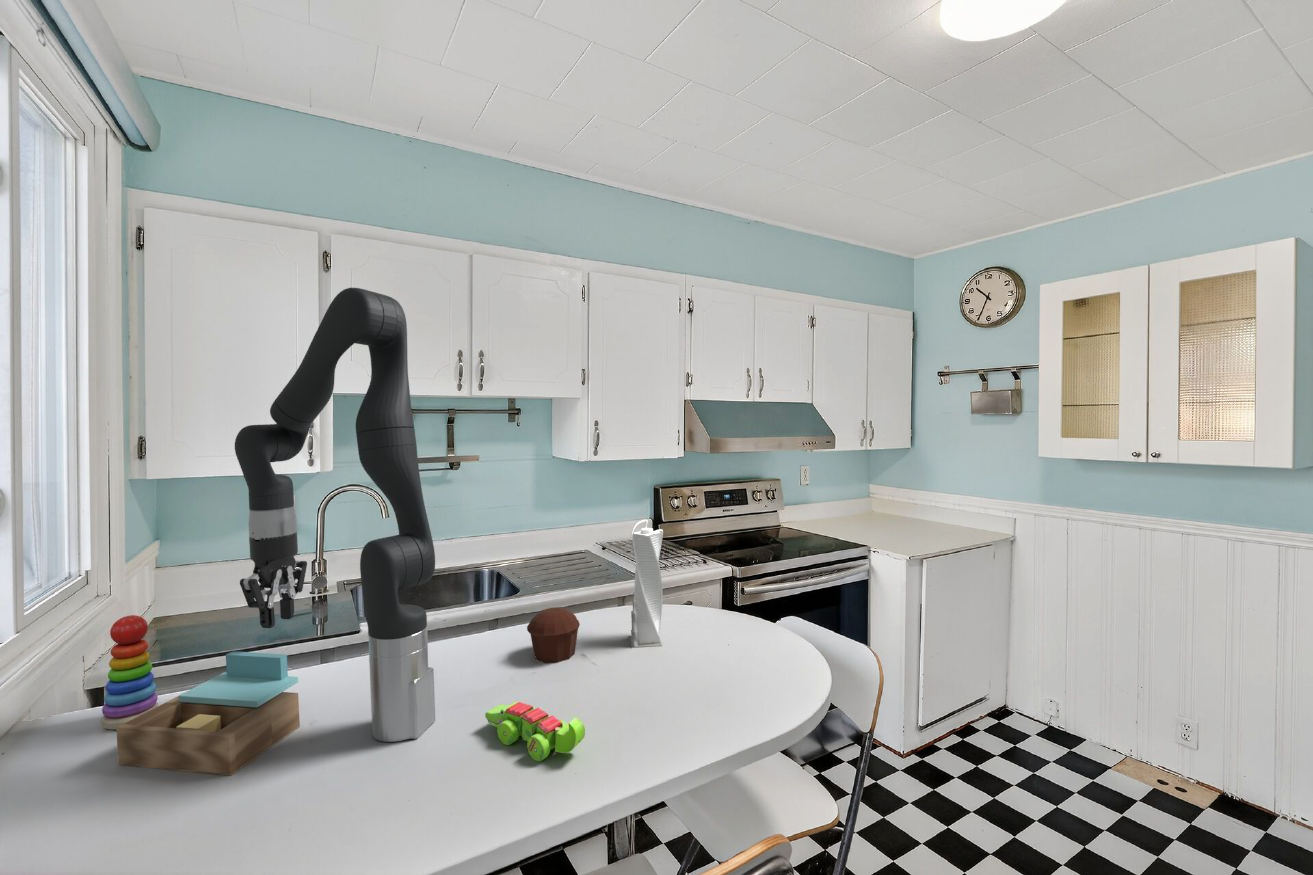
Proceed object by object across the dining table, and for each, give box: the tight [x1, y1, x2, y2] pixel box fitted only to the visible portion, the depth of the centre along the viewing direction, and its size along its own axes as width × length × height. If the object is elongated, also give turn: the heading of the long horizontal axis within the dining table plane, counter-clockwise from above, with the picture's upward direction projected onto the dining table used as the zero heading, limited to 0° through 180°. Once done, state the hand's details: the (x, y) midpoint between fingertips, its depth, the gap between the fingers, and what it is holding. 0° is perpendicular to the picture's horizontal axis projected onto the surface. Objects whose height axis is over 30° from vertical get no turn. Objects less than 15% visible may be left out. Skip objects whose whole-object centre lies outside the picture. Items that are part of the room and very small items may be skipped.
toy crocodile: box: [484, 701, 586, 762], centre depth 99 cm, size 20×7×6 cm, turn 53°
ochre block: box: [176, 714, 221, 732], centre depth 97 cm, size 4×4×5 cm
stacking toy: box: [100, 614, 160, 730], centre depth 108 cm, size 8×8×19 cm
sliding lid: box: [177, 650, 299, 707], centre depth 105 cm, size 15×9×5 cm, turn 81°
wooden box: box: [115, 691, 301, 777], centre depth 100 cm, size 20×14×6 cm
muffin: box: [526, 606, 581, 664], centre depth 134 cm, size 12×11×10 cm
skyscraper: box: [629, 519, 664, 649], centre depth 141 cm, size 8×8×28 cm
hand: (277, 622), depth 113 cm, fingers open, 4 cm apart
